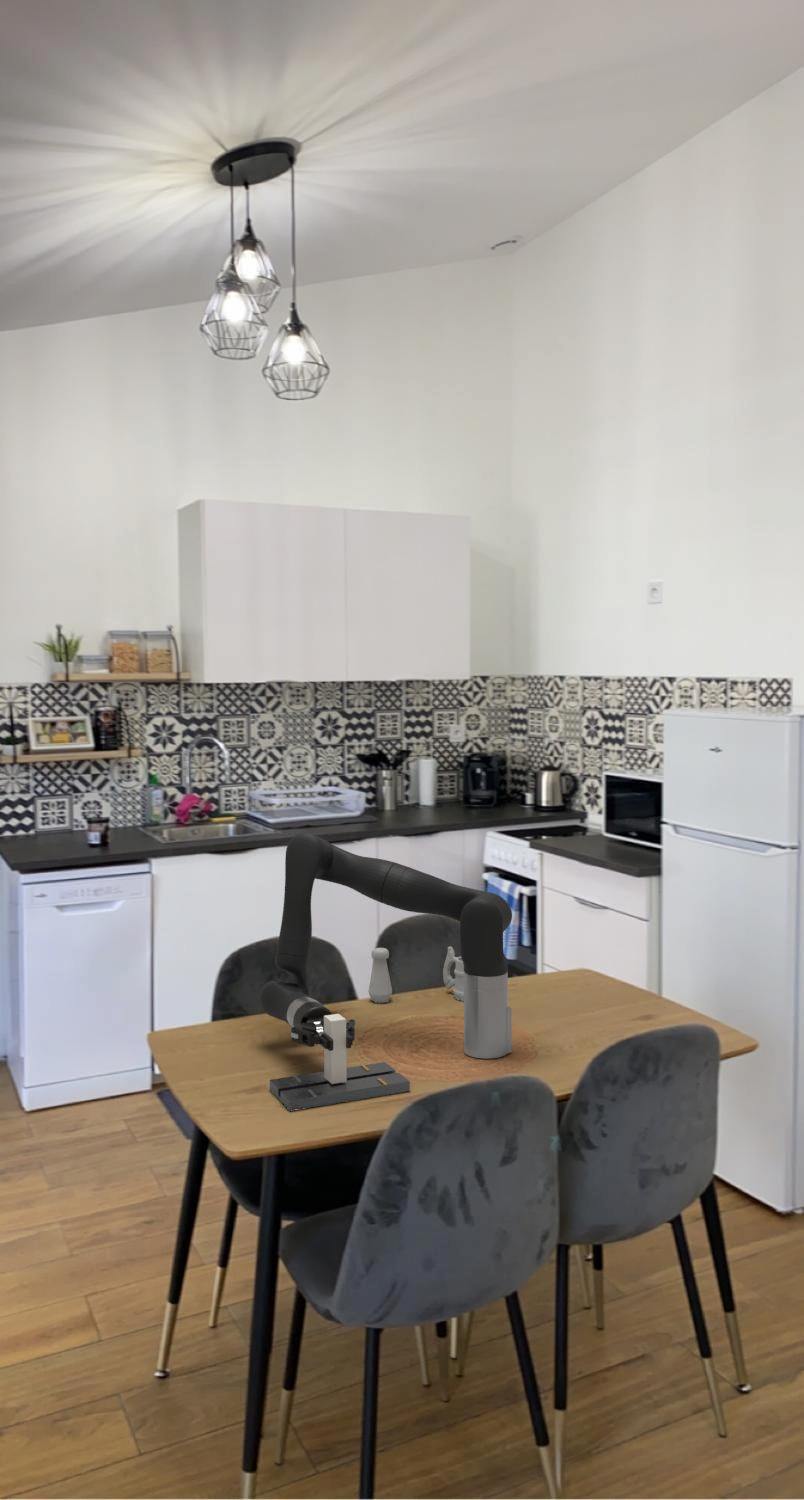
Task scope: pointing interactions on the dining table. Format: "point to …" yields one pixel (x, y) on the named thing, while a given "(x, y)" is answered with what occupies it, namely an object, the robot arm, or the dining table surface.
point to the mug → (458, 974)
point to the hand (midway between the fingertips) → (340, 1044)
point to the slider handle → (335, 1049)
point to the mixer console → (338, 1086)
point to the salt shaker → (380, 977)
